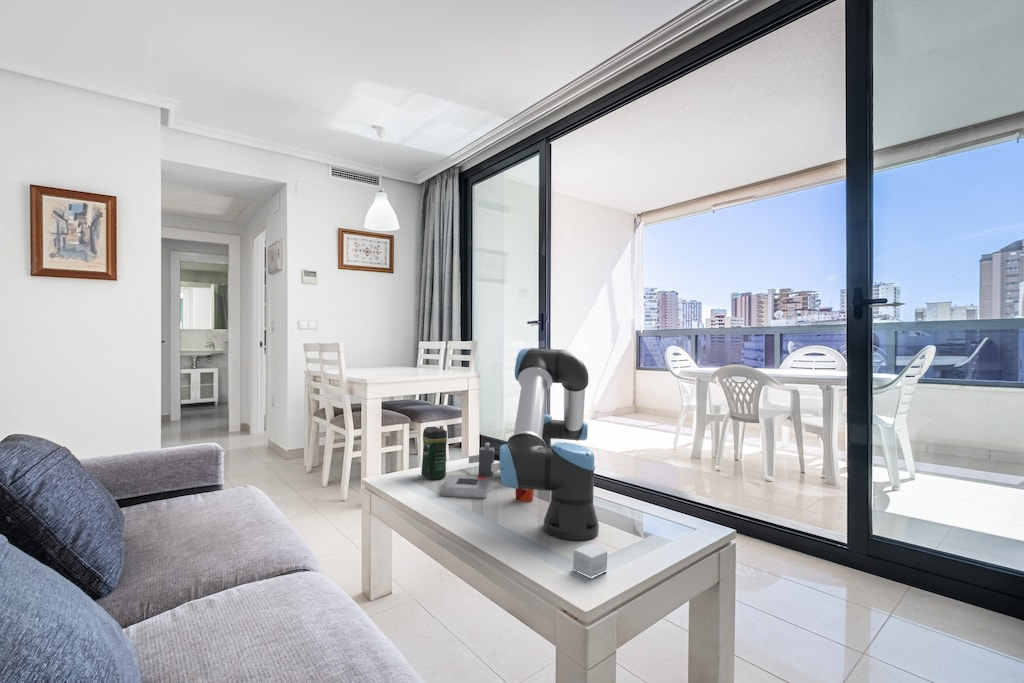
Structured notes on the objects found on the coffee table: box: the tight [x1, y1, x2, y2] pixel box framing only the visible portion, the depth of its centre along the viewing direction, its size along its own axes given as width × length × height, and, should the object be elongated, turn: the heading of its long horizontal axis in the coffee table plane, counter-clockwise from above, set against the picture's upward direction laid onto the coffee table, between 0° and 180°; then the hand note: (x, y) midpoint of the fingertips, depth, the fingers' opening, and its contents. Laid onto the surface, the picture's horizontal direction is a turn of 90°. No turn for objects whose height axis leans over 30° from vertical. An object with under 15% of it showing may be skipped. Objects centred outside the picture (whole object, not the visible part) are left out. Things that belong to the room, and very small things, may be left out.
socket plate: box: [440, 474, 492, 499], centre depth 167 cm, size 15×15×3 cm
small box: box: [572, 543, 608, 577], centre depth 110 cm, size 6×6×5 cm
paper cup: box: [514, 488, 535, 503], centre depth 159 cm, size 8×8×14 cm
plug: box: [477, 442, 495, 484], centre depth 178 cm, size 5×5×14 cm
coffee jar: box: [421, 426, 448, 481], centre depth 182 cm, size 10×8×19 cm
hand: (480, 463), depth 176 cm, fingers open, 13 cm apart
